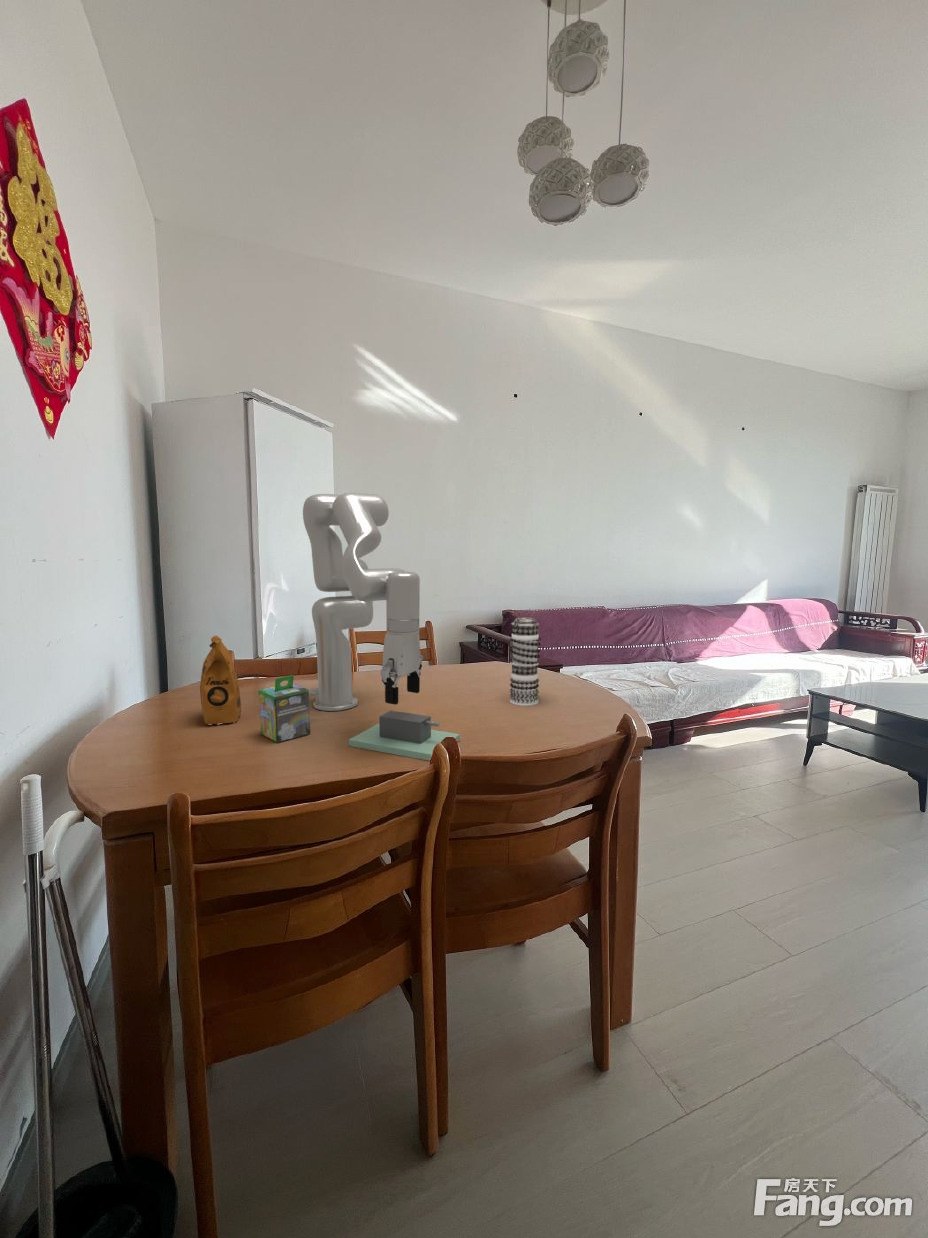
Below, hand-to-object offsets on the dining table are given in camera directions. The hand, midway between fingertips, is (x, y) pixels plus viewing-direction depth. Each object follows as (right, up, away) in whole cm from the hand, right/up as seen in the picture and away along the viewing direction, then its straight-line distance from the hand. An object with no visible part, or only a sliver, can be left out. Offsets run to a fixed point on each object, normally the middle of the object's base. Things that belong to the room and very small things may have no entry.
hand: (402, 697), depth 127 cm
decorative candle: (+32, -6, +35) cm, 48 cm away
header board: (0, -11, +1) cm, 11 cm away
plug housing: (+2, -9, 0) cm, 10 cm away
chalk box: (-30, -10, +7) cm, 32 cm away
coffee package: (-51, -9, +19) cm, 55 cm away
